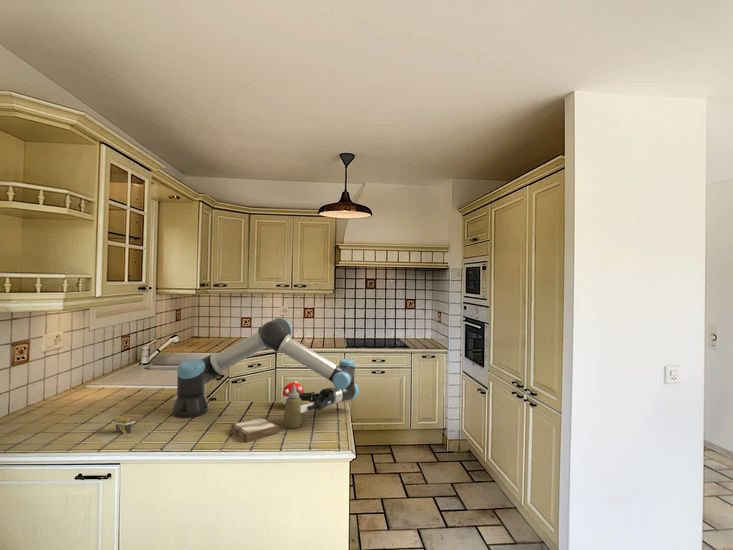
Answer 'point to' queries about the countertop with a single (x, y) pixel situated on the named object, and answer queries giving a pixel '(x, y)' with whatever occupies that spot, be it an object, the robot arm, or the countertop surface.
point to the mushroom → (289, 387)
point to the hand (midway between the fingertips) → (291, 405)
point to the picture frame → (254, 429)
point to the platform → (123, 424)
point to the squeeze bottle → (293, 409)
